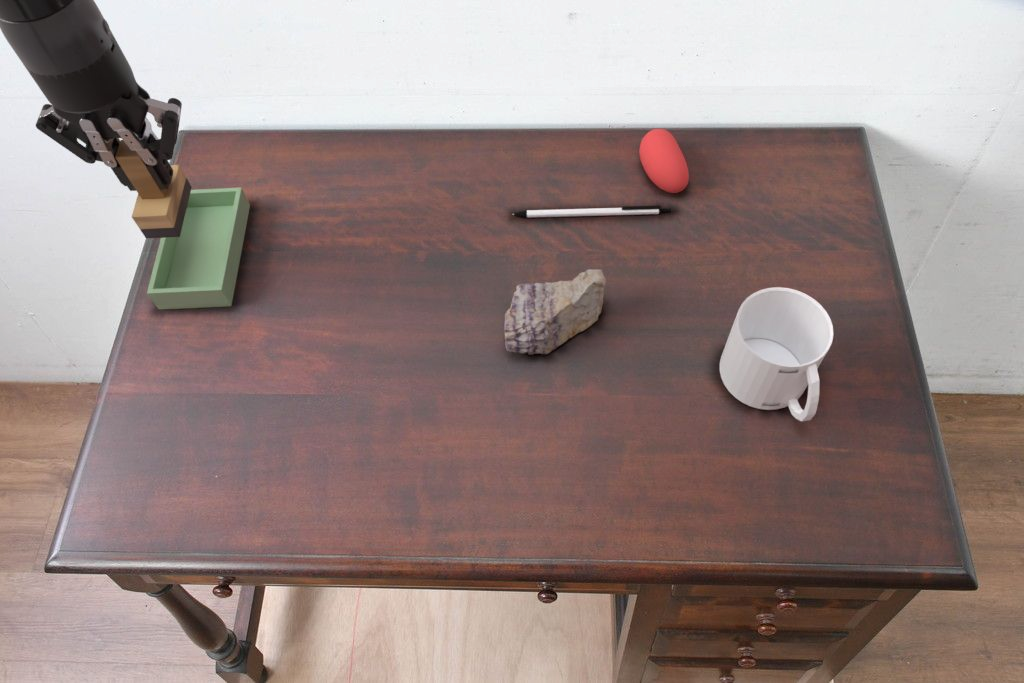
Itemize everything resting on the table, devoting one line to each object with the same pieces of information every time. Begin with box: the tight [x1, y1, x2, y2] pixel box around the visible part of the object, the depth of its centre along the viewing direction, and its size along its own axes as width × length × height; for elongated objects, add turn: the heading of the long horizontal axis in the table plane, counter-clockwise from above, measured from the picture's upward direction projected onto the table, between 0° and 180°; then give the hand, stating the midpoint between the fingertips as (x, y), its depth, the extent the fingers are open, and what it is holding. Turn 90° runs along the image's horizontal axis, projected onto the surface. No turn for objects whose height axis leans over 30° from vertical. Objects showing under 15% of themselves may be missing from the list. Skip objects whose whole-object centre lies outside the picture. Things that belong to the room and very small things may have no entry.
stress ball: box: [638, 128, 690, 194], centre depth 98 cm, size 5×9×6 cm, turn 2°
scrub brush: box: [115, 139, 192, 239], centre depth 81 cm, size 7×4×10 cm, turn 2°
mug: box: [719, 286, 834, 422], centre depth 79 cm, size 12×9×9 cm
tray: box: [146, 186, 251, 311], centre depth 94 cm, size 15×8×3 cm, turn 2°
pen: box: [512, 205, 672, 219], centre depth 96 cm, size 1×19×1 cm, turn 91°
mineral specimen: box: [503, 268, 607, 355], centre depth 86 cm, size 13×7×6 cm, turn 126°
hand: (151, 183), depth 82 cm, fingers closed on scrub brush, 2 cm apart
